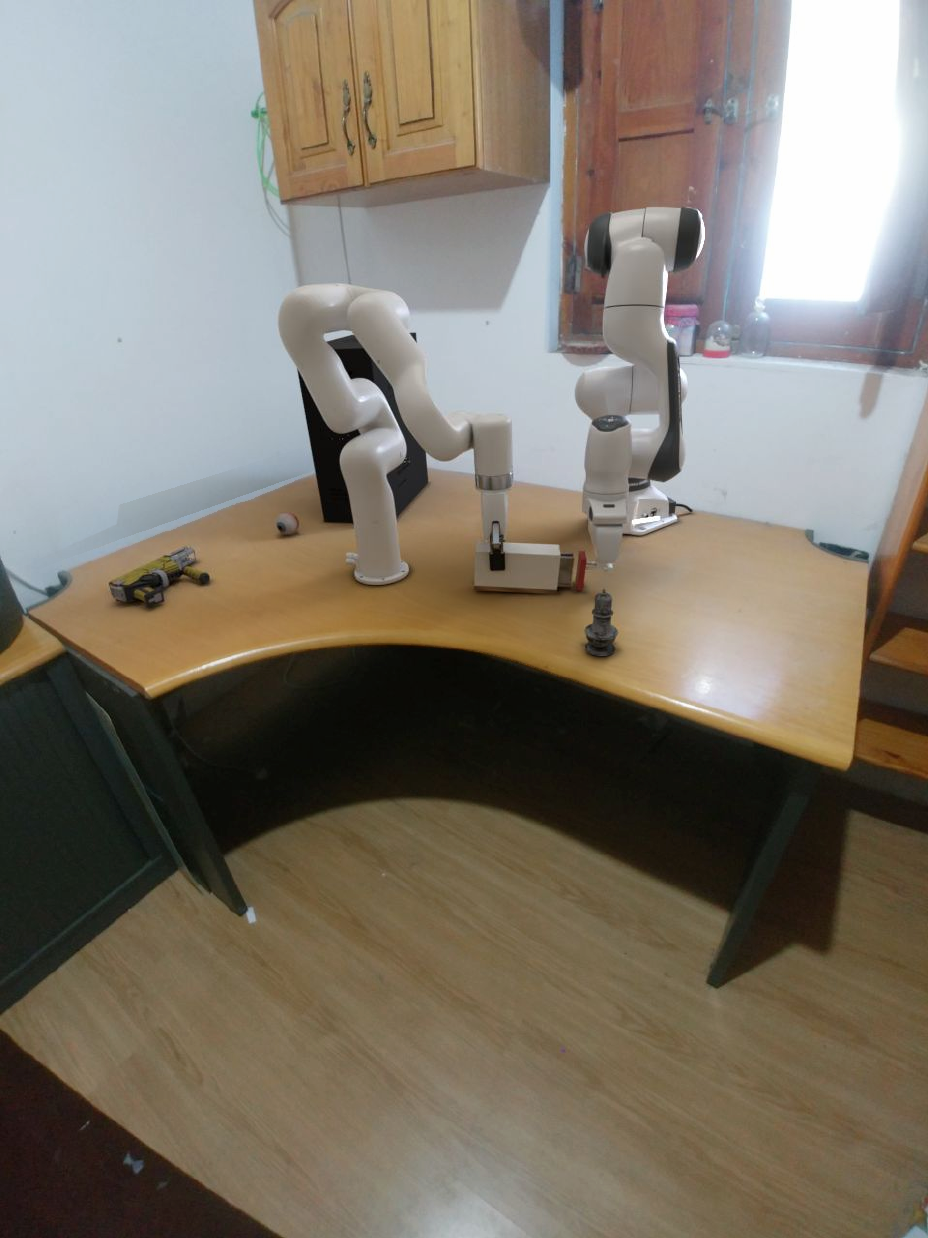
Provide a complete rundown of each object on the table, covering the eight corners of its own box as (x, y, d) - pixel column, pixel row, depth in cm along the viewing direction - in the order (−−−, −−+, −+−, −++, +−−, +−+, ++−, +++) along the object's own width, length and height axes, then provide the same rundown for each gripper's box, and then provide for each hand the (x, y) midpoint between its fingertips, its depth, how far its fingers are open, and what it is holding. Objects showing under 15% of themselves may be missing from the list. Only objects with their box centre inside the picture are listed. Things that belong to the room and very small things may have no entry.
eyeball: (273, 537, 164) (268, 516, 161) (287, 528, 169) (282, 508, 166) (291, 539, 161) (286, 518, 158) (305, 530, 166) (301, 510, 163)
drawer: (607, 582, 131) (612, 552, 127) (610, 591, 127) (615, 560, 123) (505, 577, 132) (507, 547, 128) (505, 586, 128) (507, 555, 125)
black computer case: (391, 523, 168) (370, 347, 145) (324, 521, 172) (293, 350, 150) (428, 482, 199) (416, 332, 177) (370, 481, 204) (351, 334, 181)
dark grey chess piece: (616, 658, 105) (622, 597, 99) (582, 655, 106) (586, 595, 100) (616, 640, 110) (621, 581, 104) (583, 638, 111) (587, 580, 105)
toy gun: (232, 554, 147) (182, 544, 151) (158, 595, 127) (102, 582, 130) (235, 572, 149) (185, 561, 153) (162, 615, 129) (107, 601, 133)
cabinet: (555, 582, 132) (559, 544, 128) (556, 594, 127) (560, 555, 123) (475, 578, 133) (476, 540, 129) (474, 590, 128) (475, 551, 124)
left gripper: (476, 468, 127) (481, 548, 136) (473, 495, 112) (478, 582, 121) (512, 467, 126) (514, 547, 135) (514, 493, 111) (516, 581, 120)
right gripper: (583, 488, 129) (580, 549, 135) (594, 519, 111) (589, 587, 117) (613, 488, 128) (608, 549, 135) (629, 518, 110) (622, 587, 117)
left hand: (497, 562), depth 128 cm, fingers closed on cabinet, 5 cm apart
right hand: (599, 567), depth 126 cm, fingers closed, pressing on drawer
